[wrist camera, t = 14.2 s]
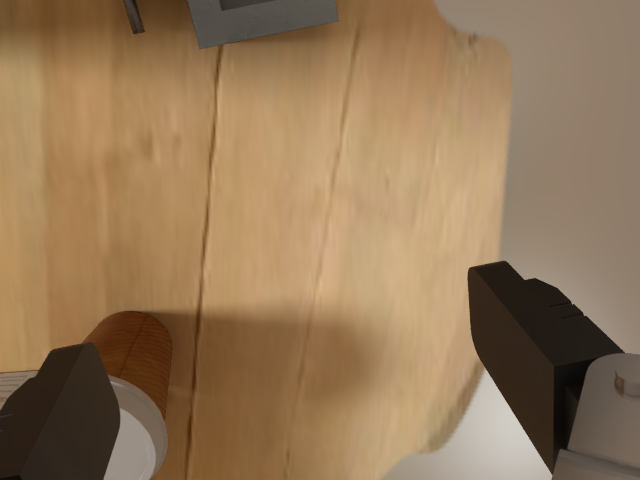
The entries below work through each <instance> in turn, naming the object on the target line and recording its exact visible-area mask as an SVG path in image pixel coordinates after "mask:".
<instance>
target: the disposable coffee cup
mask: <svg viewBox="0 0 640 480" xmlns="http://www.w3.org/2000/svg"><path fill="white" fill-rule="evenodd" d="M87 342H91V343H93V344H94V345H95V347H96V348H97V350H98V352H99V355H100V357H101V360H102V362H103V365H104V367H105V370H106V372H107V375H108V377H109V380H110V382H111V385H112V387H113V390H114V392H115V395H116V397H117V400H118V403H119V408H120V429H119V433H118V436H117V439H116V442H115V445H114V448H113V451H112V454H111V458H110V461H109V464H108V467H107V470H106V473H105V476H104V479H103V480H150V479H151V478H152V477H153V476H154V475H155V474H156V473H157V471H158V470H159V469H160V467H161V466H162V464H163V462H164V460H165V457H166V453H167V449H168V432H167V429H166V426H165V413H166V402H167V395H168V385H169V375H170V365H171V355H172V341H171V337H170V335H169V333H168V331H167V330H166V329H165V328H164V326H163V325H162V324H161V323H160V322H158V321H157V320H156V319H154V318H152V317H151V316H148V315H145V314H142V313H139V312H129V311H126V312H119V313H116V314H113V315H110V316H109V317H107V318H105V319H104V320H102V321H101V322H100V323H99V324H98V326H97V327H96V328H95V329H94V330H93V331H92V332H91V334H90V335H89V336H88V337H87V338H86V339H85V340H84V341H83V342H82V343H87ZM82 343H81V344H82Z"/></svg>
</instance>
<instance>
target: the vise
mask: <svg viewBox="0 0 640 480" xmlns="http://www.w3.org/2000/svg"><path fill="white" fill-rule="evenodd" d="M123 1H124V4H125V8H126V11H127V14H128V18H129V21H130V24H131V28H132V31H133V34H137V33H142V32H145V31H144V28H143V24H142V21H141V17H140V14H139V10H138V7H137V3H136V0H123ZM187 2H188V5H189V9H190V13H191V17H192V21H193V25H194V29H195V33H196V37H197V40H198V44H199V48H200V49H203V48H208V47H213V46H218V45H223V44H228V43H233V42H238V41H243V40H248V39H252V38H257V37H262V36H267V35H272V34H277V33H282V32H287V31H292V30H297V29H302V28H307V27H312V26H317V25H322V24H327V23H331V22H336V21H339V20H338V14H337V8H336V2H335V0H187Z"/></svg>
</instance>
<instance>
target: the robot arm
mask: <svg viewBox="0 0 640 480" xmlns="http://www.w3.org/2000/svg"><path fill="white" fill-rule="evenodd" d="M468 292H469V308H470V324H471V334H472V339H473V343H474V346H475V349H476V352H477V354H478V356H479V358H480V360H481V362H482V363H483V365H484V366H485V368H486V370H487V371H488V373H489V374H490V376H491V377H492V379H493V380H494V382H495V384H496V386H497V387H498V389H499V390H500V392H501V394H502V395H503V397H504V398H505V400H506V402H507V403H508V405H509V406H510V408H511V410H512V411H513V413H514V414H515V416H516V418H517V419H518V421H519V422H520V424H521V426H522V427H523V429H524V430H525V432H526V434H527V435H528V437H529V439H530V440H531V442H532V443H533V445H534V447H535V448H536V450H537V451H538V453H539V454H540V456H541V458H542V459H543V461H544V463H545V464H546V466H547V467H548V469H549V471H550V472H551V474H552V475H553V476H552V480H640V355H639V354H631V353H625V352H623V350H622V349H620V348H619V347H618V346H617V345H616V344H615V343H614V342H613V341H612V340H611V339H610V338H609V337H608V336H607V335H606V334H605V333H604V332H603V331H602V330H601V329H599V328H598V327H597V326H596V325H595V324H594V323H593V322H592V321H591V320H590V319H589V318H588V317H587V316H584V315H583V312H582V311H581V310H580V309H578V308H577V307H576V306H575V305H574V304H573V305H572V303H571V301H570V300H569V299H568V298H567V297H566V296H565V295H564V294H563V293H562V292H561V291H560V290H559V289H558V288H556V287H554V286H552V285H549V284H547V283H545V282H543V281H540V280H538V279H536V278H534V279H528V280H524V279H523V278H522V277H521V276H520V275H519V274H518V273H517V272H516V271H515V270H514V269H513V268H512V267H511V265H509V263H507V262H506V261H500V262H495V263H489V264H484V265H479V266H474V267H470V268H469V270H468ZM119 429H120V408H119V403H118V400H117V397H116V395H115V392H114V390H113V387H112V385H111V382H110V380H109V377H108V375H107V372H106V370H105V367H104V365H103V362H102V360H101V357H100V355H99V352H98V350H97V348H96V347H95V345H94V344H93V343H91V342H87V343H82V344H77V345H72V346H67V347H62V348H57V349H53V350H52V351H50V353H49V354H48V356H47V358H46V359H45V361H44V363H43V365H42V366H41V368H40V370H39V371H38V373H37V375H36V376H35V377H33V378H29V379H28V380H27V381H26V382H24V383H23V384H22V385H21V386H20V387H19V388H18V389H17V390H16V391H15V392H13V393H12V394H11V395H10V396H9V397H8V399H7V400H6V402H5V403H4V405H3V407H2V408H1V410H0V480H103V479H104V476H105V473H106V470H107V467H108V464H109V461H110V458H111V454H112V451H113V448H114V445H115V442H116V439H117V436H118V433H119Z"/></svg>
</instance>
